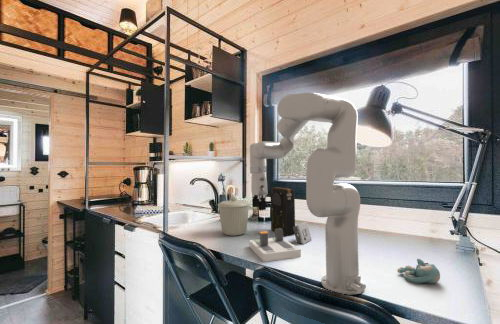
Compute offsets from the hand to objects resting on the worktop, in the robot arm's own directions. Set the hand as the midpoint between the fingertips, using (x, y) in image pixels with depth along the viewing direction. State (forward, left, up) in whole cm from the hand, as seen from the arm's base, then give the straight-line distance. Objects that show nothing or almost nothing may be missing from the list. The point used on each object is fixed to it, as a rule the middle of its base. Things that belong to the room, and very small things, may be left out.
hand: (258, 208), depth 118 cm
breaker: (-2, -9, -15) cm, 17 cm away
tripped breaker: (-7, 0, -15) cm, 16 cm away
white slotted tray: (-6, -4, -18) cm, 20 cm away
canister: (+30, +5, -19) cm, 35 cm away
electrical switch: (+3, -23, -19) cm, 30 cm away
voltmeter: (+22, -21, -19) cm, 36 cm away
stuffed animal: (-47, -38, -19) cm, 64 cm away
